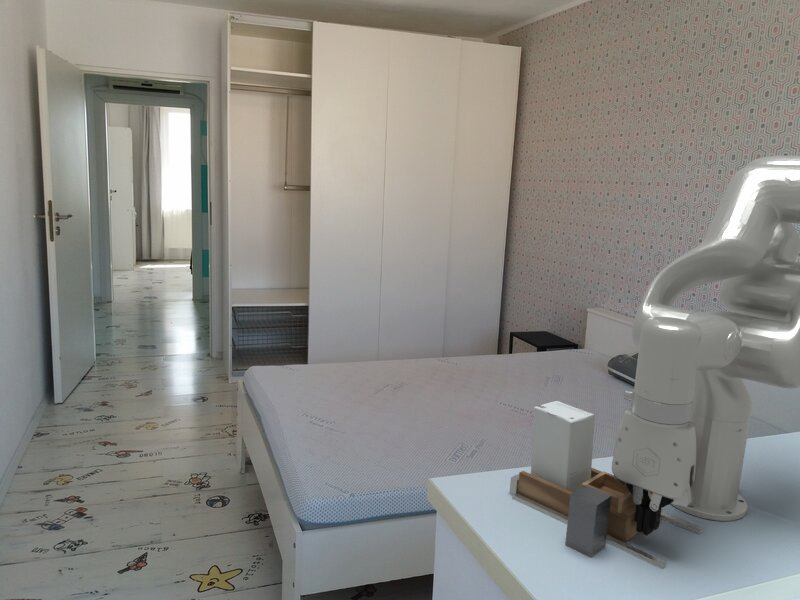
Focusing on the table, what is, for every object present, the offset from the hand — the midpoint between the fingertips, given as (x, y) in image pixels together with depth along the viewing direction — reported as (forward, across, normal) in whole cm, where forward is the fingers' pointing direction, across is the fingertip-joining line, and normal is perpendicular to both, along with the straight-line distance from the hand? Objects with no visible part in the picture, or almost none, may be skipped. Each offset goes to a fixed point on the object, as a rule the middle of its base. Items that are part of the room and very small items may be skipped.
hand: (645, 529), depth 90 cm
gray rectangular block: (+2, -5, -7) cm, 9 cm away
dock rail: (+2, -8, +3) cm, 9 cm away
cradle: (+2, -12, +3) cm, 12 cm away
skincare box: (+3, -16, +3) cm, 16 cm away
